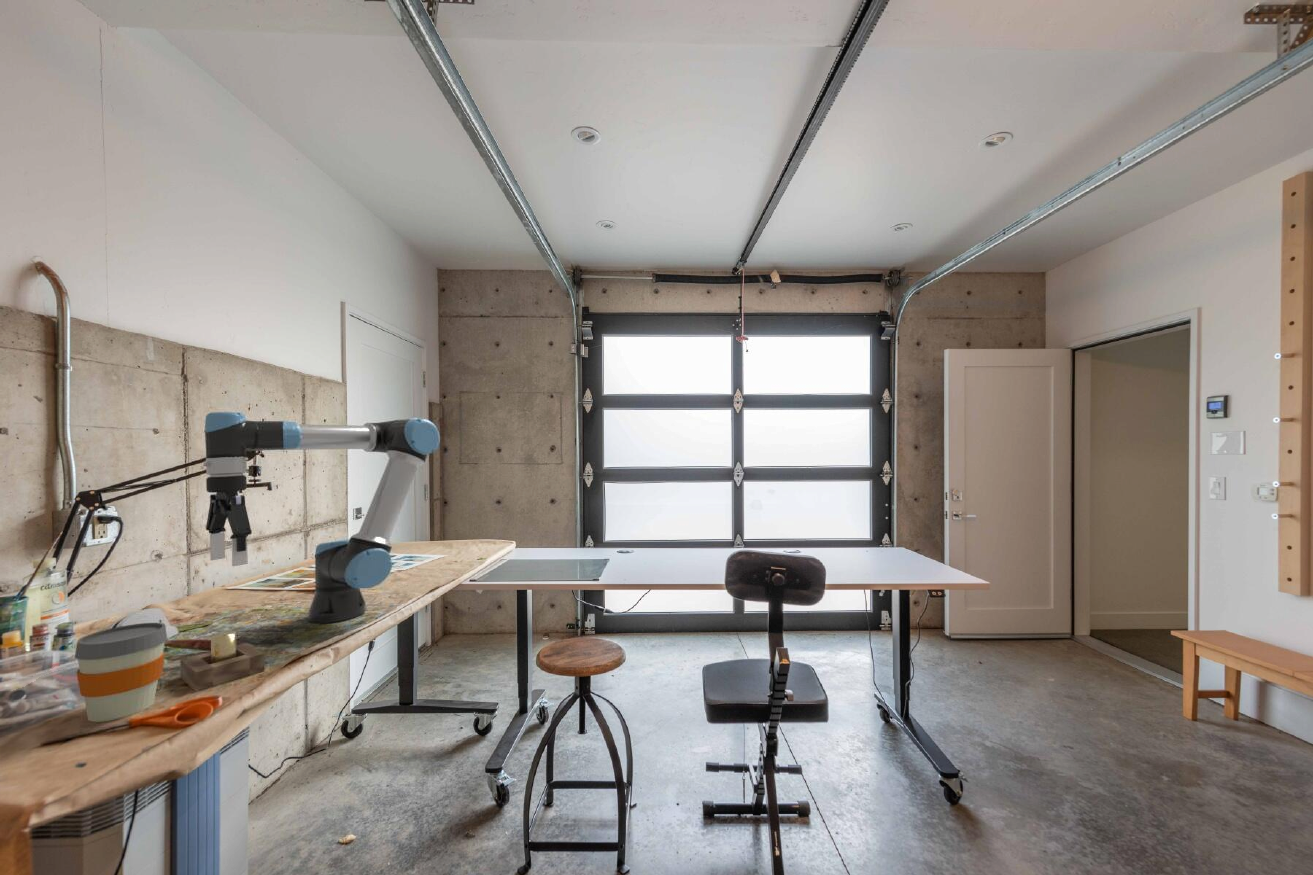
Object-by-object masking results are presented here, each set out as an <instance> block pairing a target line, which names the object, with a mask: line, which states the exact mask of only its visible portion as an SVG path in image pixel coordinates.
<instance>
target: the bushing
mask: <svg viewBox="0 0 1313 875" xmlns="http://www.w3.org/2000/svg"><path fill="white" fill-rule="evenodd" d="M236 645H237V631H236V630H229V631H228V630H227V631H221V632H217V633H215V634H212V636H211V637H210V652H211V664H213V663H217V662H221V661H224V660H228V659H232V658H235V657H236Z"/></svg>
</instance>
